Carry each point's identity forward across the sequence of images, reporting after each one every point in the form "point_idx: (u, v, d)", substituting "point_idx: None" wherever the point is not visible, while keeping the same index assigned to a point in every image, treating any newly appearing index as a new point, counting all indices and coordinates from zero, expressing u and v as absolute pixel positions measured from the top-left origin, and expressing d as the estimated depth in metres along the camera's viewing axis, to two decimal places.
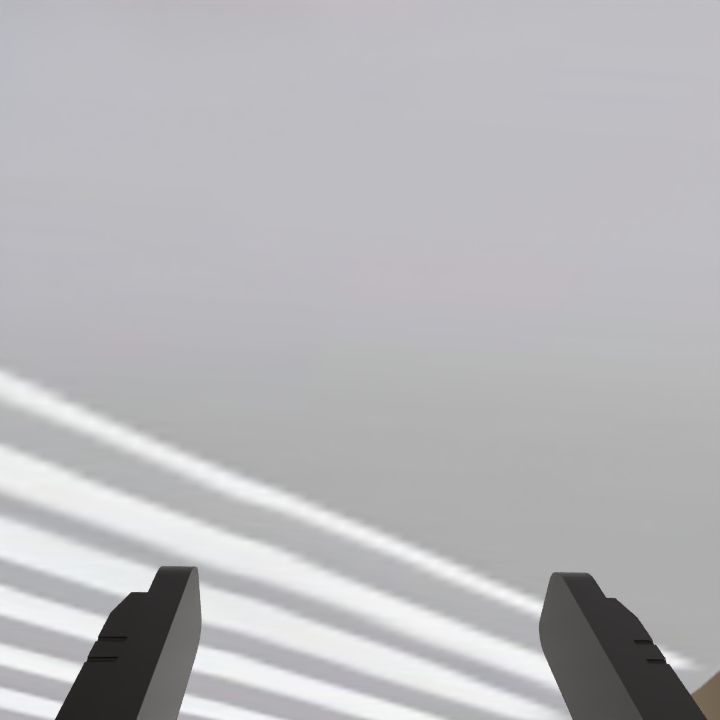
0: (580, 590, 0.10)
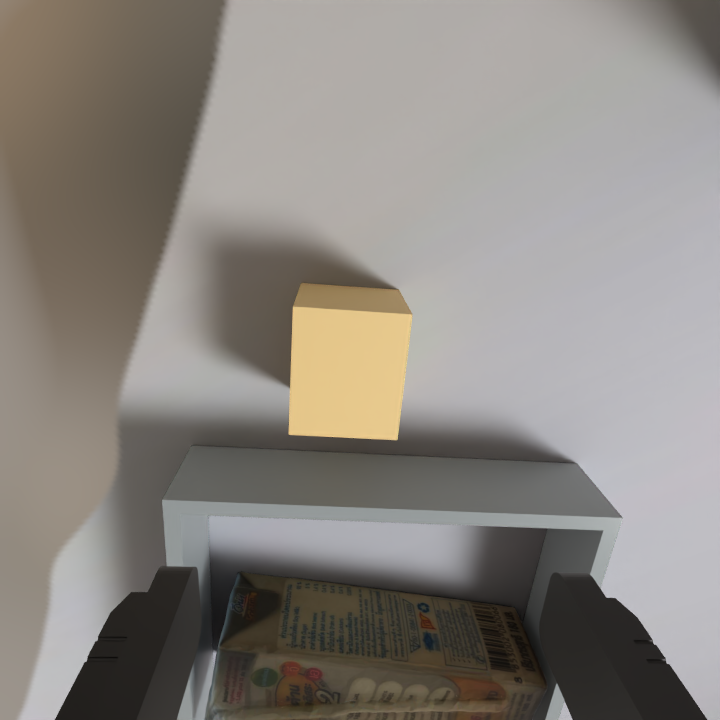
0: (580, 590, 0.10)
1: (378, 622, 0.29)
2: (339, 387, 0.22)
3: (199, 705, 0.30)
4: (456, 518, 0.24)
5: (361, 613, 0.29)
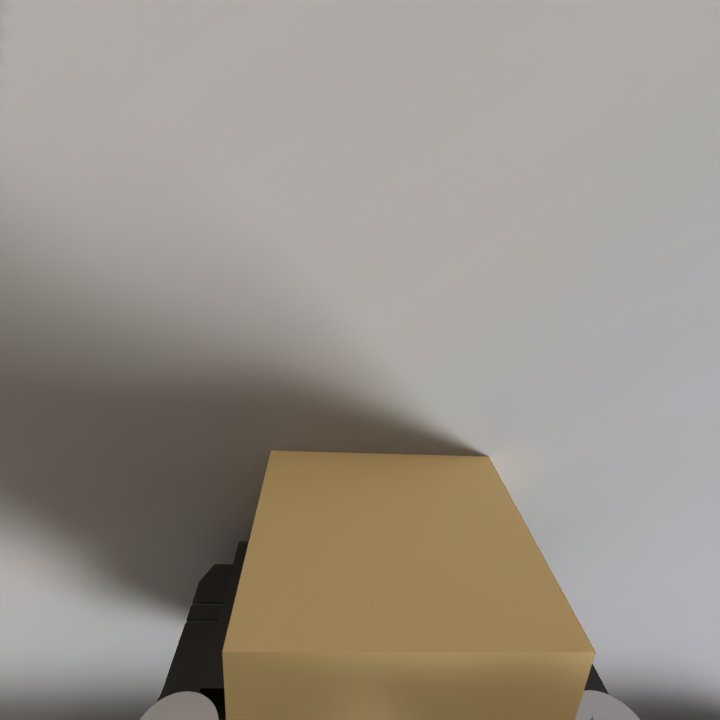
0: None
1: None
2: None
3: None
4: None
5: None
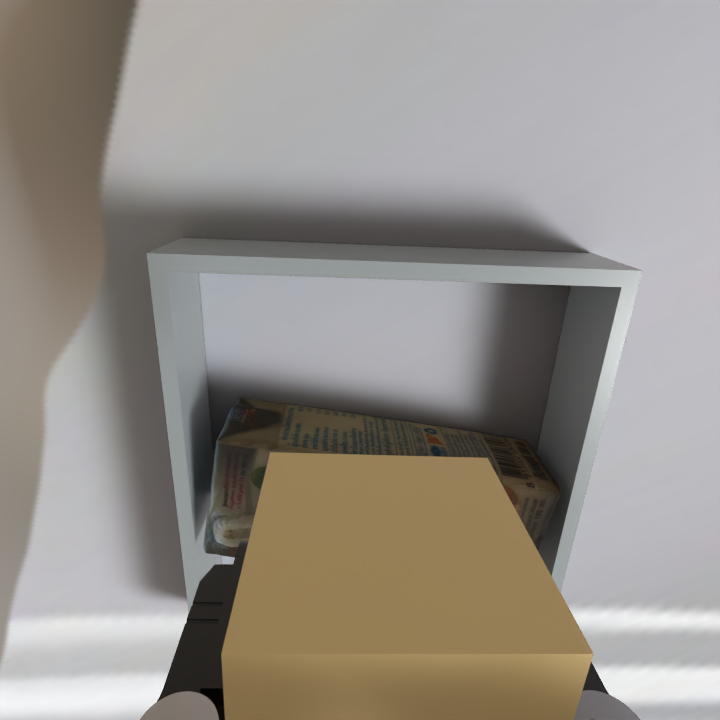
0: None
1: (383, 436, 0.28)
2: None
3: (202, 524, 0.29)
4: (462, 273, 0.22)
5: (366, 429, 0.28)
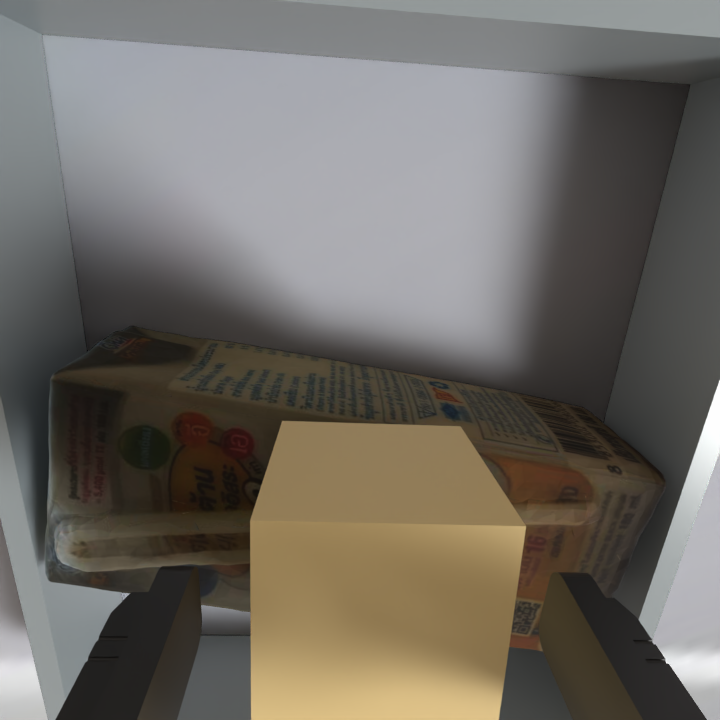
0: (580, 590, 0.10)
1: (361, 385, 0.17)
2: (361, 683, 0.10)
3: None
4: (523, 1, 0.11)
5: (333, 375, 0.17)
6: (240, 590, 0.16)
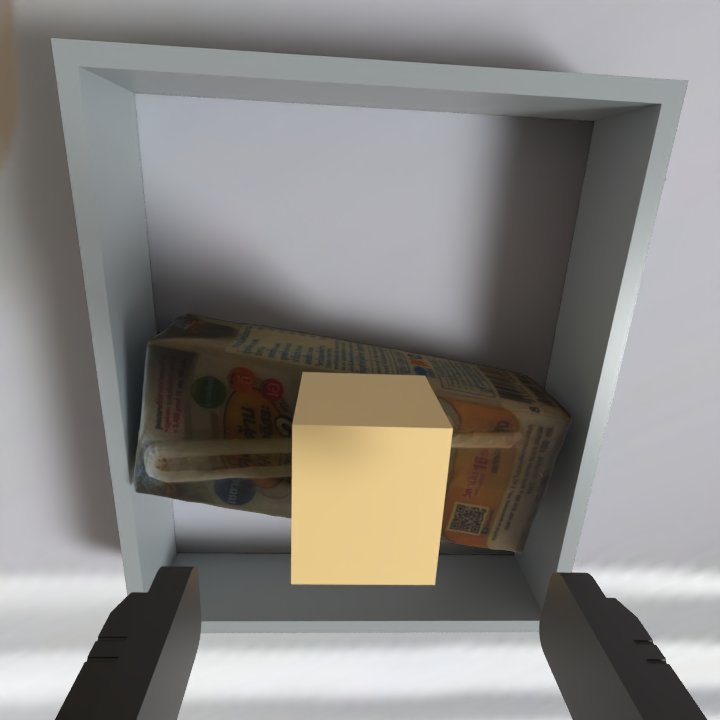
0: (580, 590, 0.10)
1: (357, 354, 0.23)
2: (357, 523, 0.16)
3: None
4: (460, 78, 0.18)
5: (337, 347, 0.23)
6: (271, 499, 0.22)
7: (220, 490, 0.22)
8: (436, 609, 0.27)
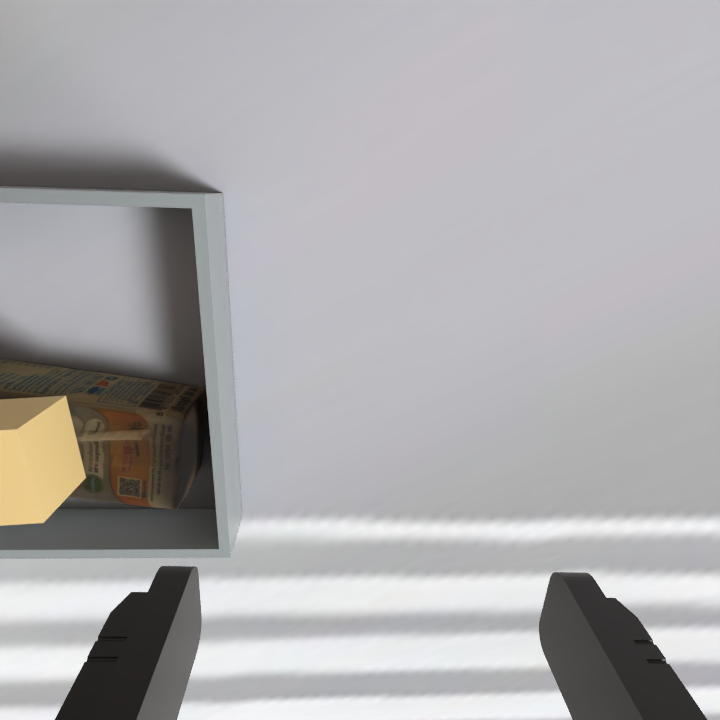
0: (580, 590, 0.10)
1: (56, 379, 0.34)
2: None
3: None
4: (58, 197, 0.29)
5: (46, 374, 0.35)
6: None
7: None
8: (145, 542, 0.38)
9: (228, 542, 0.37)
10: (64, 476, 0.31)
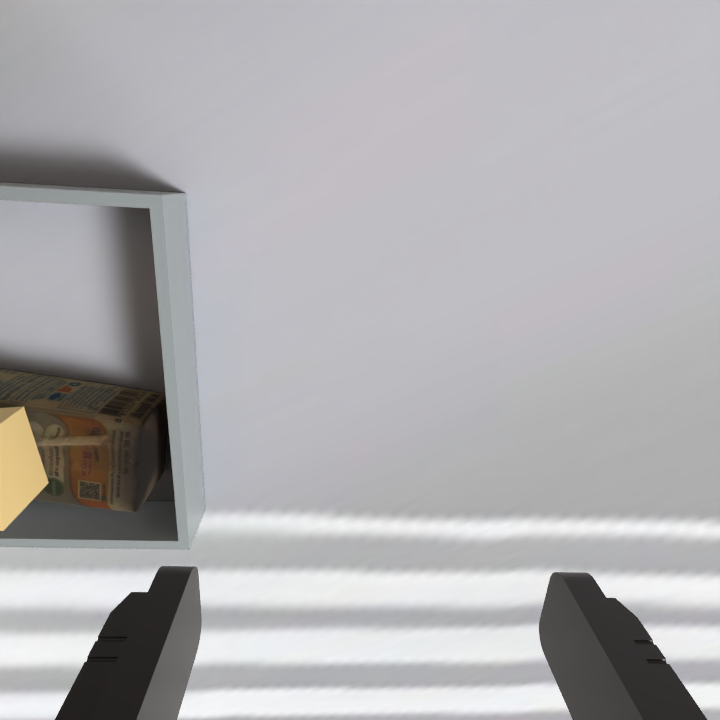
0: (580, 590, 0.10)
1: (19, 385, 0.35)
2: None
3: None
4: (17, 194, 0.29)
5: (10, 380, 0.36)
6: None
7: None
8: (106, 533, 0.39)
9: (187, 534, 0.38)
10: (24, 484, 0.32)
